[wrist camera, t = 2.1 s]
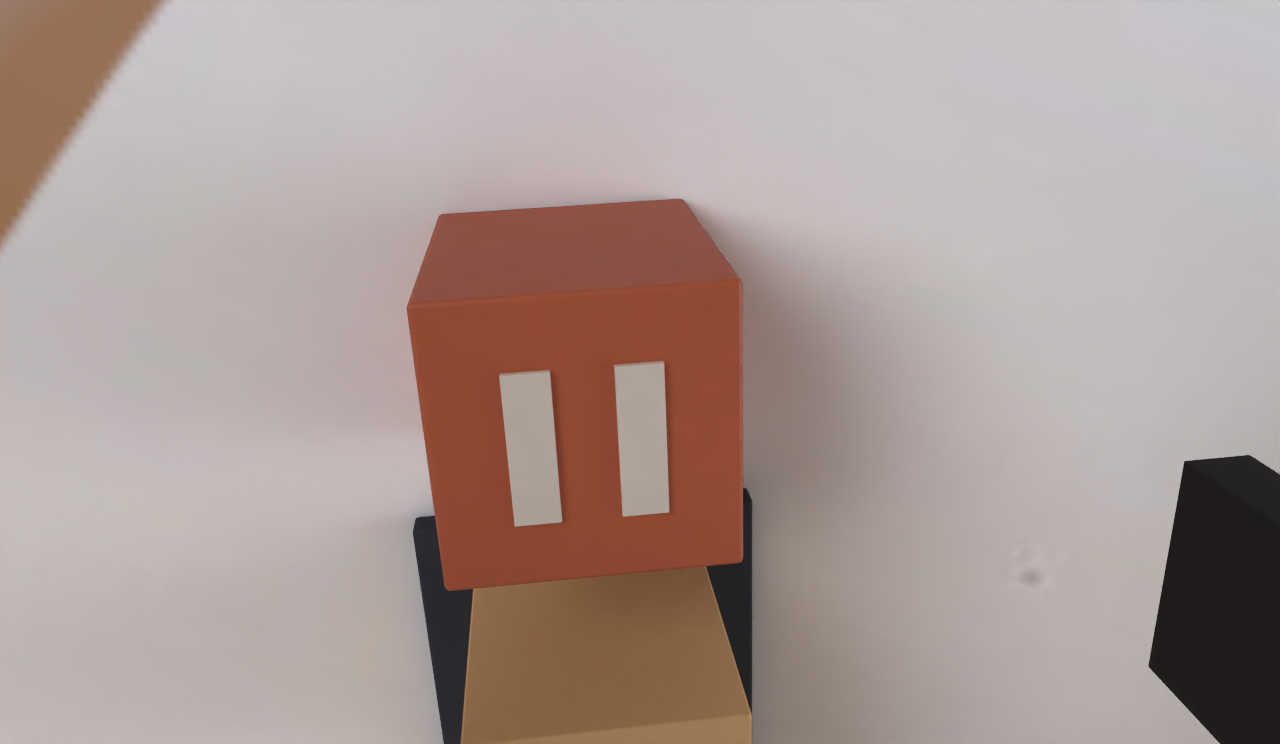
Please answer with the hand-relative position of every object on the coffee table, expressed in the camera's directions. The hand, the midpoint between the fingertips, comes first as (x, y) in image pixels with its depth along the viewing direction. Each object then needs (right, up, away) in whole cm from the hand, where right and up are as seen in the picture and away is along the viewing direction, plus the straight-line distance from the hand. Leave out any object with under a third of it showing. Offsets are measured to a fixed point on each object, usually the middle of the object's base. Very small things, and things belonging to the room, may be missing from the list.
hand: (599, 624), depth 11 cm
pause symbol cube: (-1, +4, +9) cm, 10 cm away
